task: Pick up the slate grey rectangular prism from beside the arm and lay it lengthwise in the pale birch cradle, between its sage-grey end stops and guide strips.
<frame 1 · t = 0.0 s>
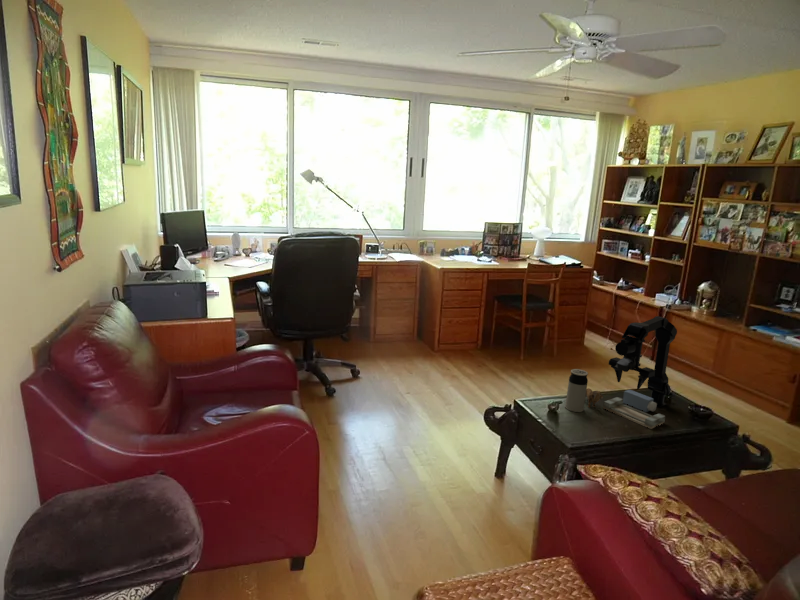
hand: (628, 385, 224), 15 cm above the table, tool pointing down, fingers open, 9 cm apart
slate grey rectangular prism: (636, 406, 239), on the table
travel mug: (574, 409, 232), on the table
cradle: (632, 415, 228), on the table
lion figurine: (590, 405, 238), on the table
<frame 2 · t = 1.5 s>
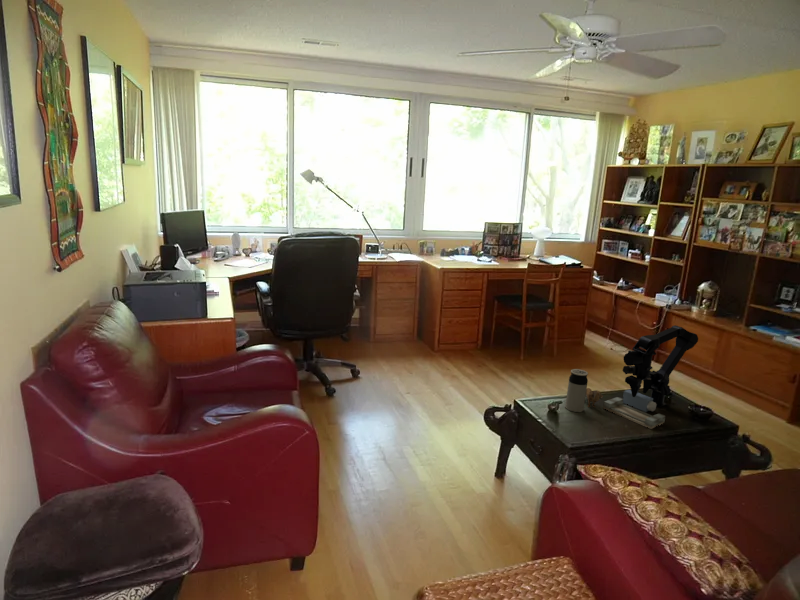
hand: (639, 395, 238), 6 cm above the table, tool pointing down, fingers open, 9 cm apart
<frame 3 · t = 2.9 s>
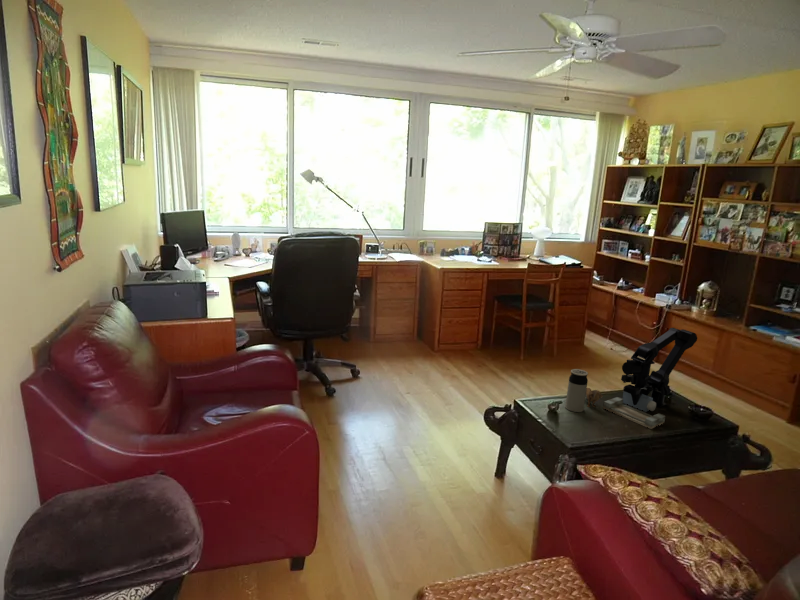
hand: (637, 403, 239), 1 cm above the table, tool pointing down, fingers closed on slate grey rectangular prism, 4 cm apart
slate grey rectangular prism: (636, 406, 239), on the table, touching gripper
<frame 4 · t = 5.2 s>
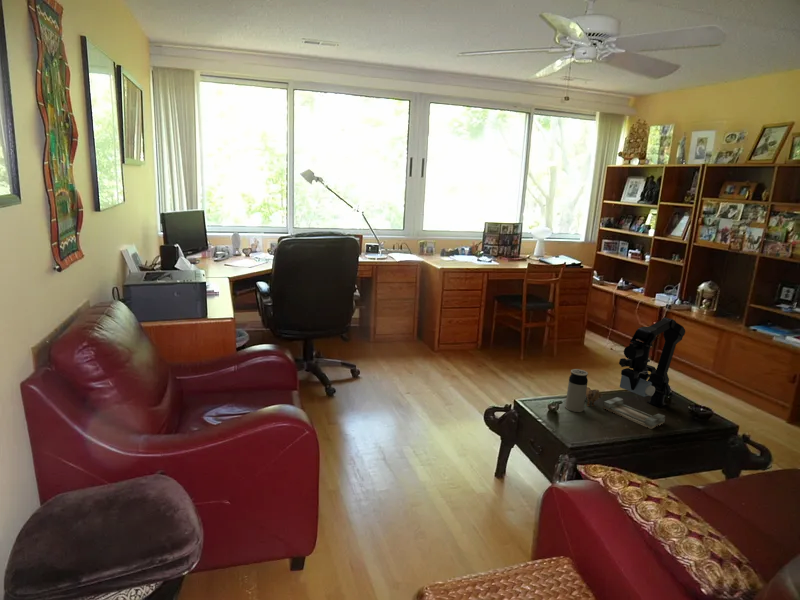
hand: (635, 388, 229), 12 cm above the table, tool pointing down, fingers closed on slate grey rectangular prism, 4 cm apart
slate grey rectangular prism: (634, 391, 230), point 10 cm above the table, touching gripper
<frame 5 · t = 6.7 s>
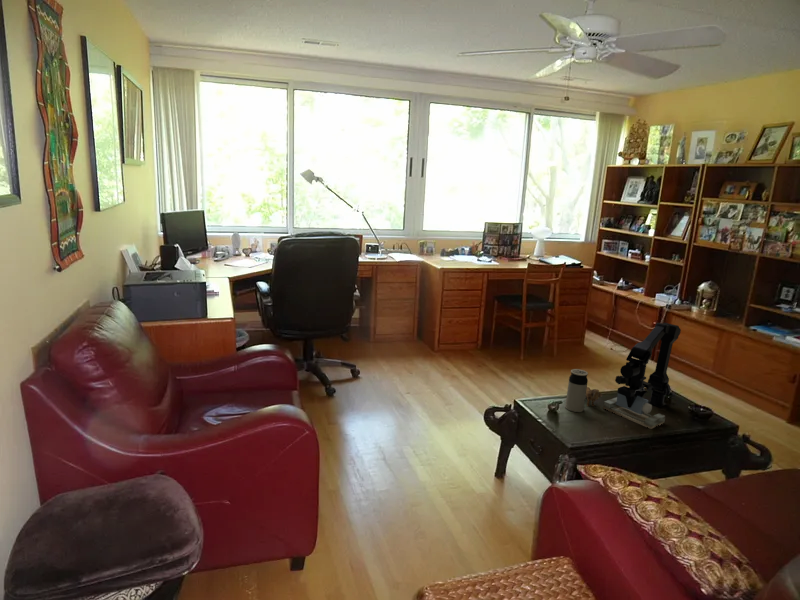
hand: (632, 406, 228), 4 cm above the table, tool pointing down, fingers closed on slate grey rectangular prism, 4 cm apart
slate grey rectangular prism: (630, 408, 229), point 3 cm above the table, touching gripper
when the fingers open (4 cm above the table, at t = 7.5 s): slate grey rectangular prism drops 1 cm, resting on cradle.
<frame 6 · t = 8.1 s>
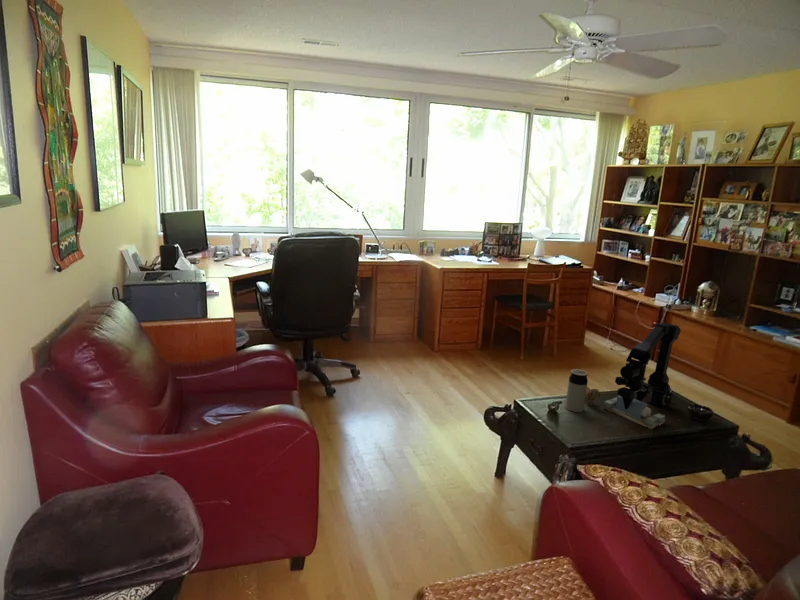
hand: (631, 407, 228), 4 cm above the table, tool pointing down, fingers open, 9 cm apart
slate grey rectangular prism: (630, 412, 229), point 1 cm above the table, touching cradle
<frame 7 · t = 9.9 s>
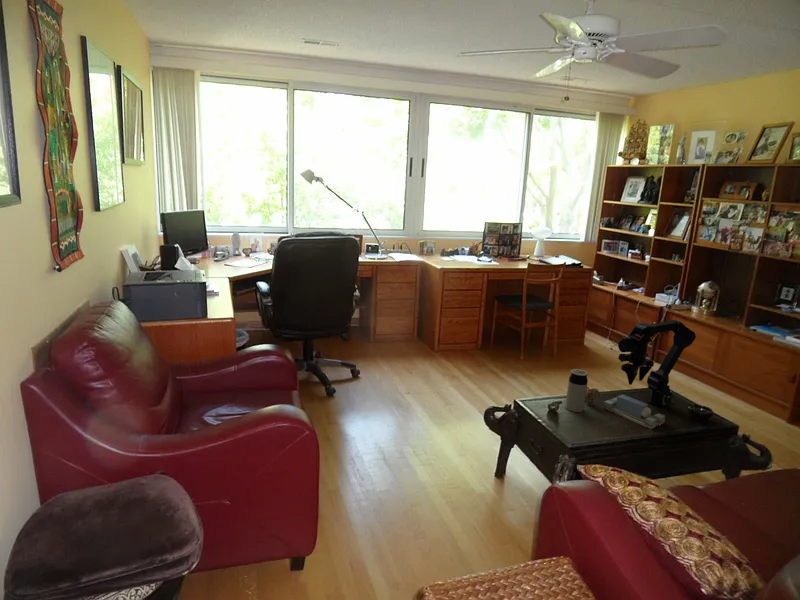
hand: (635, 382, 237), 12 cm above the table, tool pointing down, fingers open, 9 cm apart
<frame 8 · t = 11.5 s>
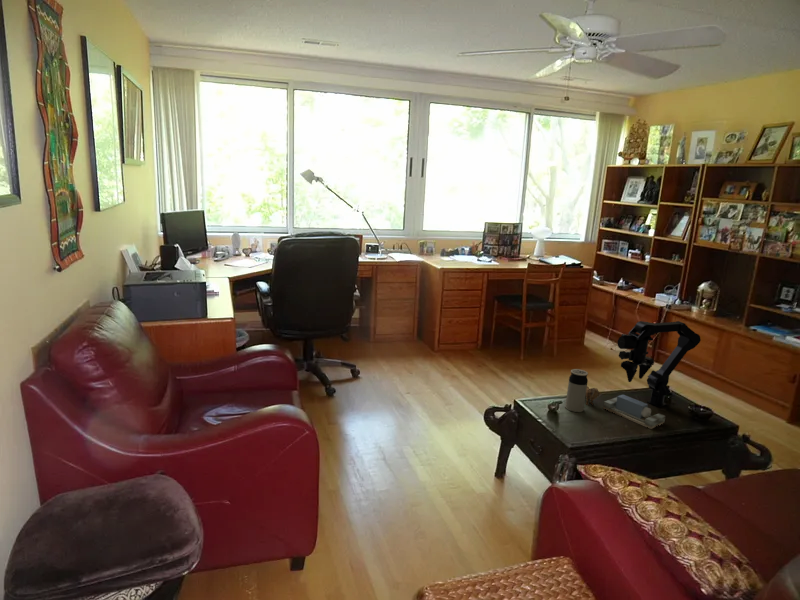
hand: (634, 380, 239), 12 cm above the table, tool pointing down, fingers open, 9 cm apart
at the end: slate grey rectangular prism 0.4 cm from the target spot on the cradle, point 1.0 cm above the cradle's base; slate grey rectangular prism tilted 0°; the gripper is holding nothing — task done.
